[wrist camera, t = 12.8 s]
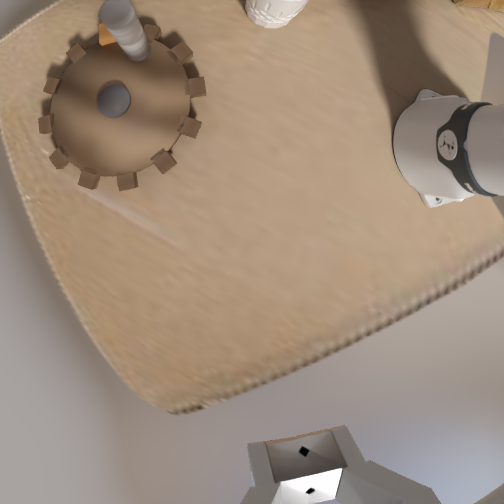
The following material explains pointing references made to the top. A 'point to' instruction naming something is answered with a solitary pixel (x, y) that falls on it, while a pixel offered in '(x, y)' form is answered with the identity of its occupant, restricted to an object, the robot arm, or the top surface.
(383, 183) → the top surface
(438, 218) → the top surface
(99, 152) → the sprocket
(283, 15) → the white cup
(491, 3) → the knife block
